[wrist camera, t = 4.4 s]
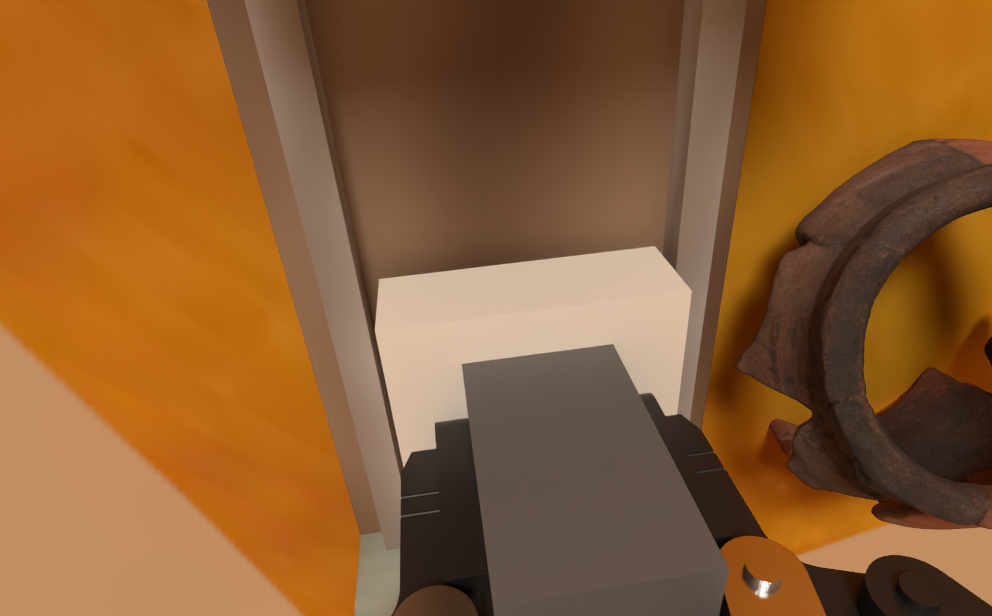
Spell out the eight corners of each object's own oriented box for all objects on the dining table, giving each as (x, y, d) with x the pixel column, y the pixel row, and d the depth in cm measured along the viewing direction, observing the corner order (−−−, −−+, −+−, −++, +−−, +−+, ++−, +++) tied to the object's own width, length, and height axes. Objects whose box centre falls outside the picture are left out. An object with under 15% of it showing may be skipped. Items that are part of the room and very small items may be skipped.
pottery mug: (673, 444, 20) (755, 561, 12) (707, 160, 19) (820, 76, 11) (1057, 492, 19) (1441, 658, 11) (1107, 193, 18) (1555, 127, 10)
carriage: (654, 246, 13) (861, 497, 7) (639, 445, 16) (773, 735, 10) (379, 279, 13) (353, 575, 7) (417, 478, 16) (424, 799, 10)
